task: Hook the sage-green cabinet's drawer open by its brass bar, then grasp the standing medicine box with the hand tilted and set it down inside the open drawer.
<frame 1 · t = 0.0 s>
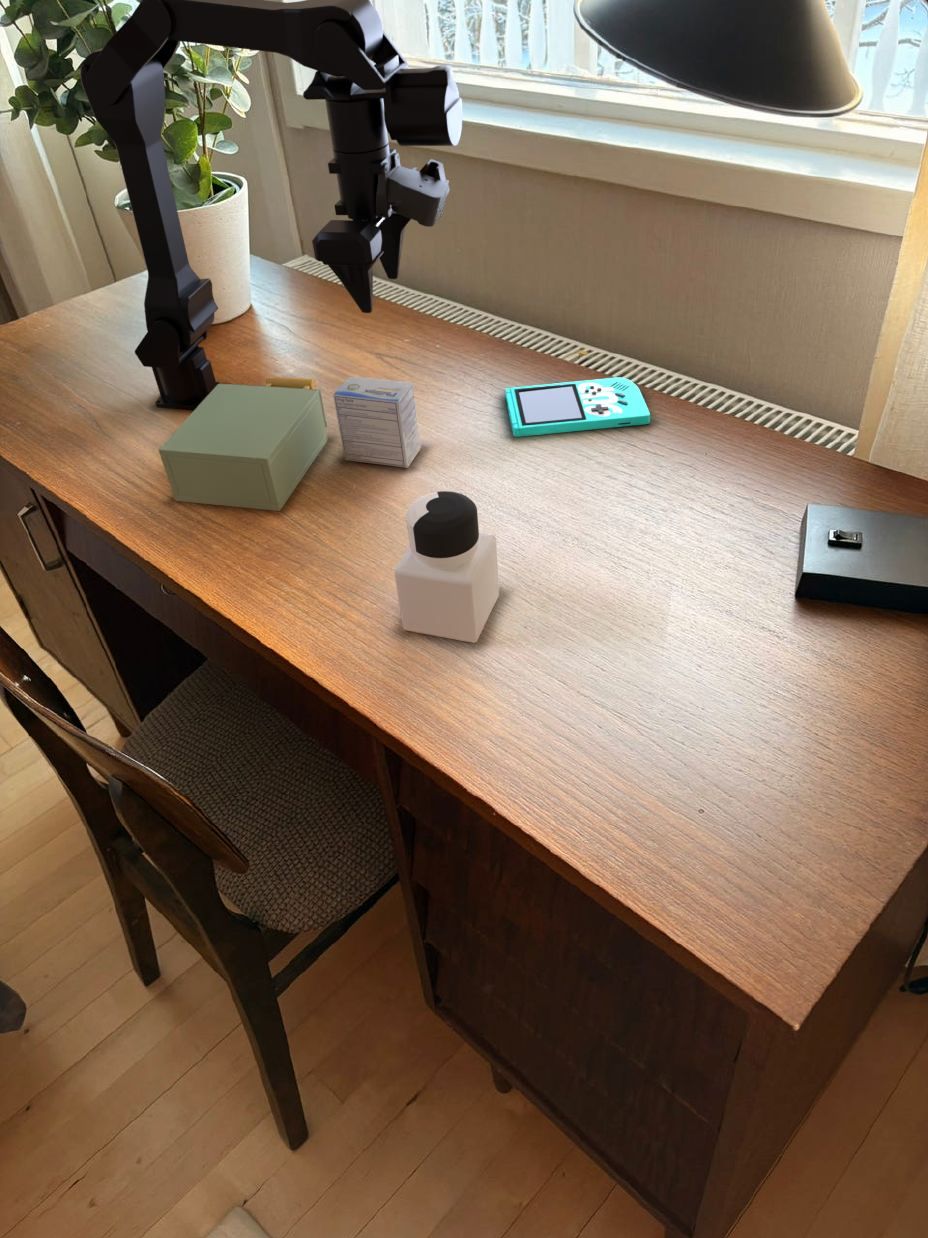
hand: (380, 294, 106), 15 cm above the table, tool pointing down, fingers open, 9 cm apart
drawer: (264, 423, 109), point 3 cm above the table, slide at 0.5 cm
handheld game console: (575, 411, 113), on the table
cabinet: (254, 469, 108), on the table
medicine box: (383, 457, 108), on the table
medicine bottle: (452, 614, 87), on the table
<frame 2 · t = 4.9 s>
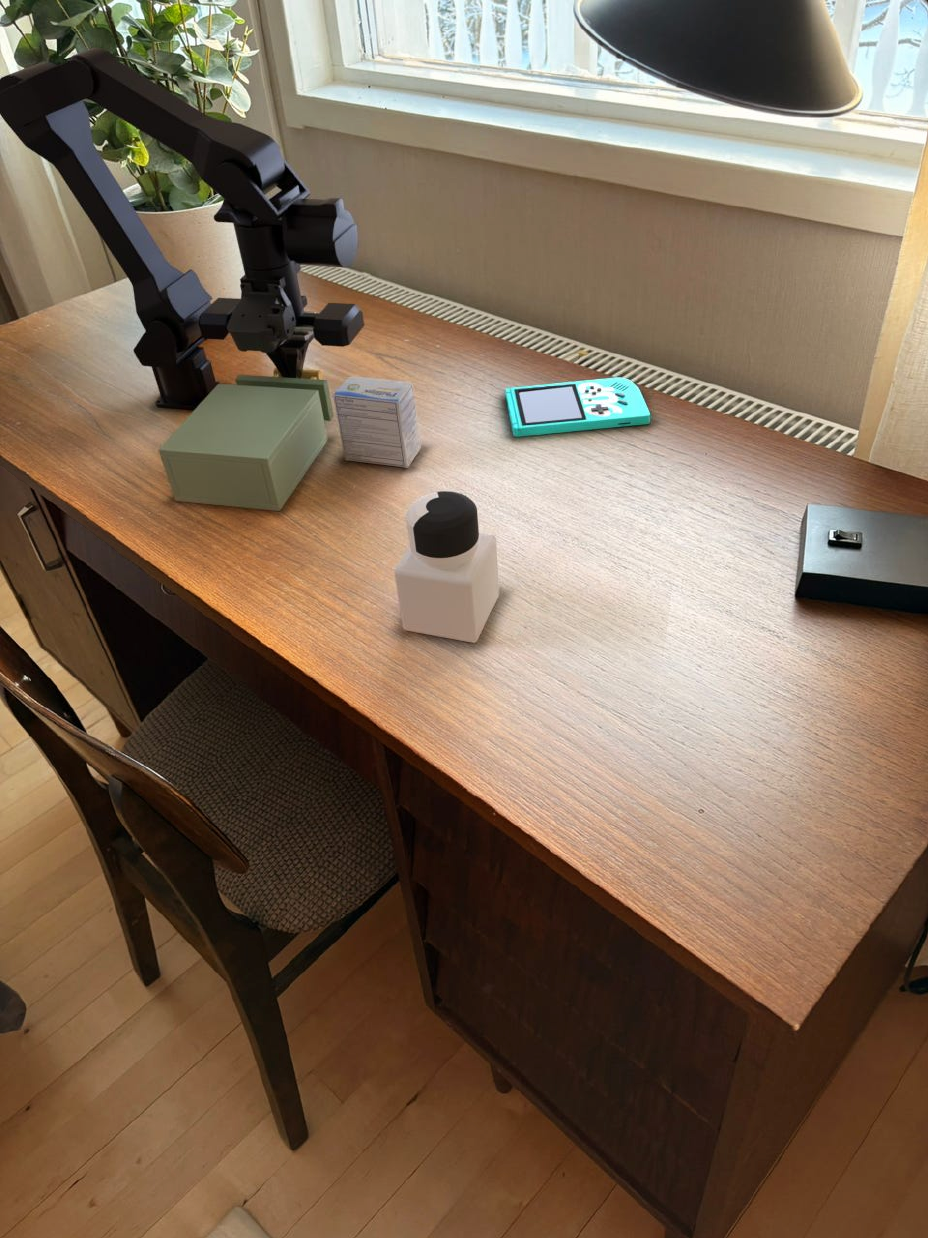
hand: (294, 387, 116), 3 cm above the table, tool pointing down, fingers closed
drawer: (272, 413, 111), point 3 cm above the table, slide at 2.8 cm, touching gripper
everything else where it was.
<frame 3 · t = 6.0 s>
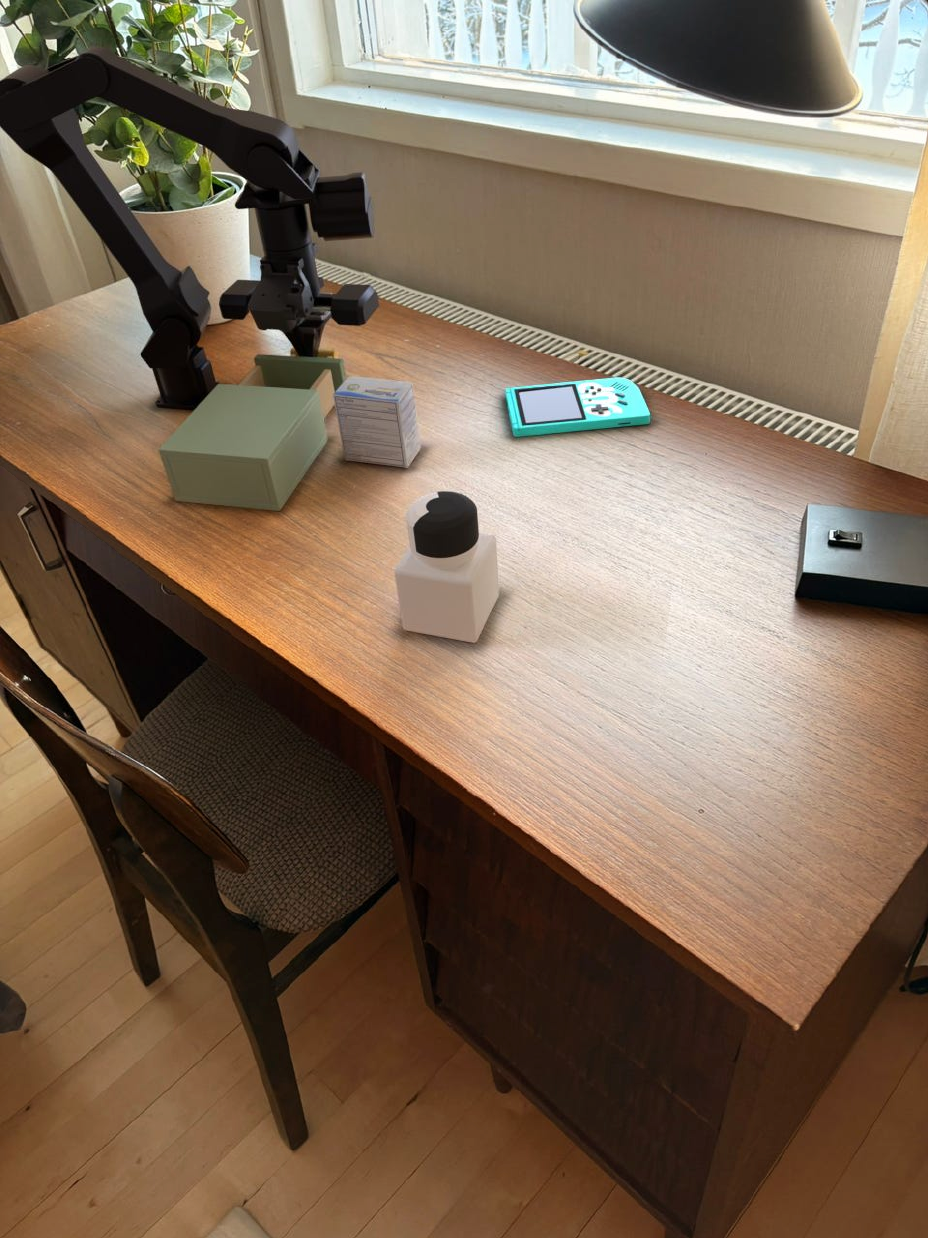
hand: (311, 367, 119), 3 cm above the table, tool pointing down, fingers closed, pressing on drawer
drawer: (289, 391, 114), point 3 cm above the table, slide at 8.3 cm, touching gripper
everything else where it was.
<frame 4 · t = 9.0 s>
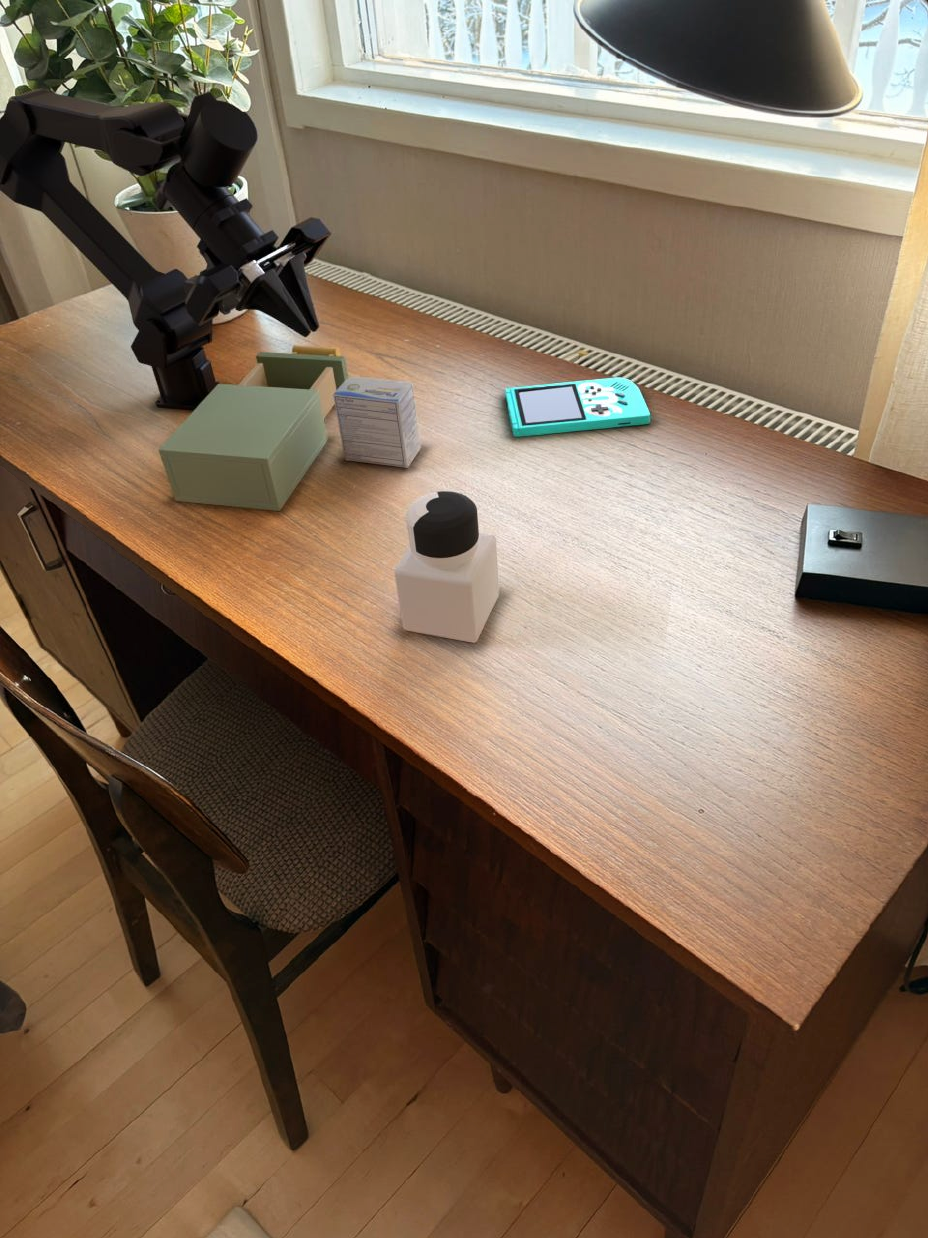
hand: (312, 332, 103), 13 cm above the table, tool tilted 45°, fingers closed
drawer: (291, 388, 115), point 3 cm above the table, slide at 8.9 cm
everything else where it was.
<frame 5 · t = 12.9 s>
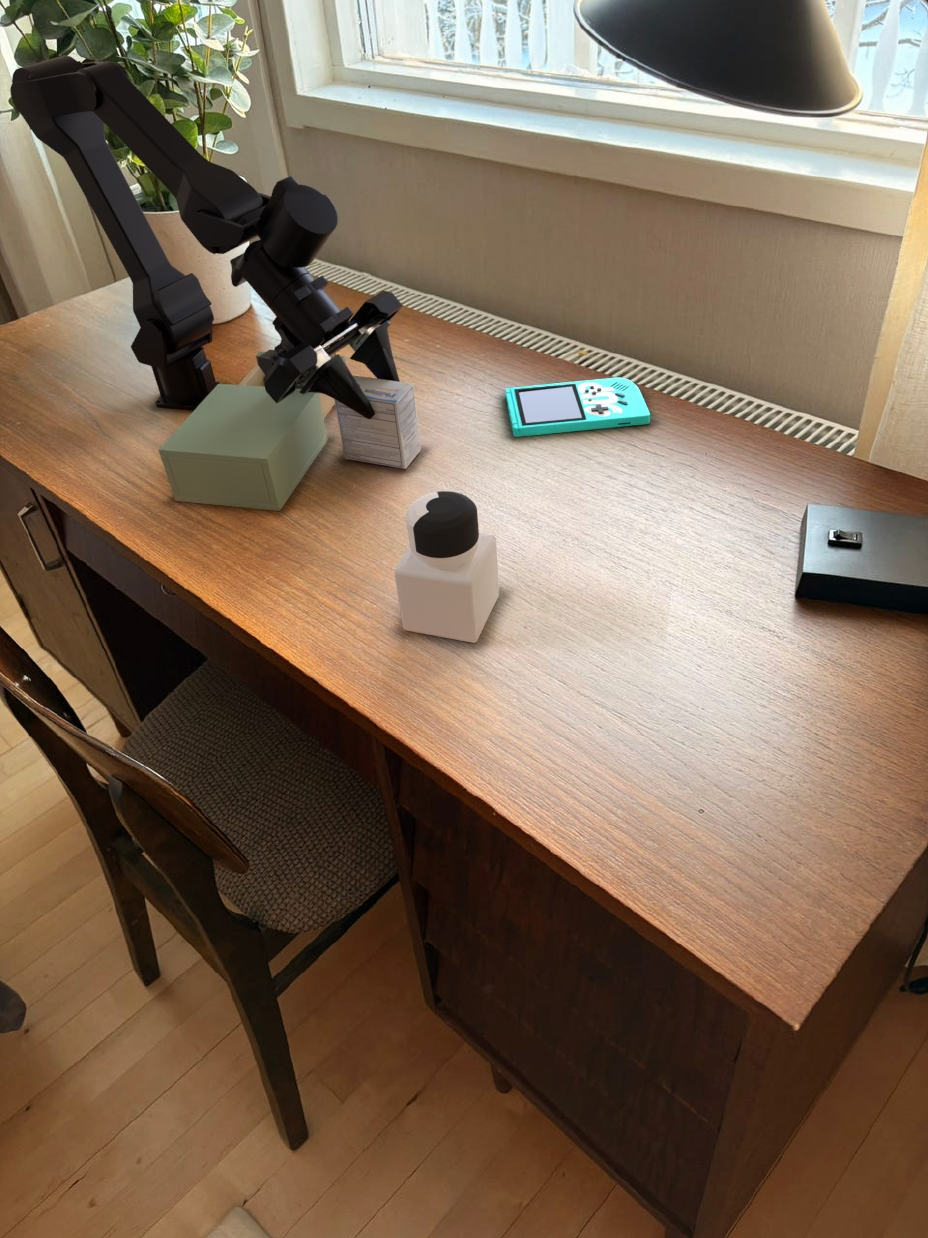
hand: (386, 406, 103), 7 cm above the table, tool tilted 45°, fingers closed on medicine box, 5 cm apart
medicine box: (383, 457, 108), on the table, touching gripper
everything else where it was.
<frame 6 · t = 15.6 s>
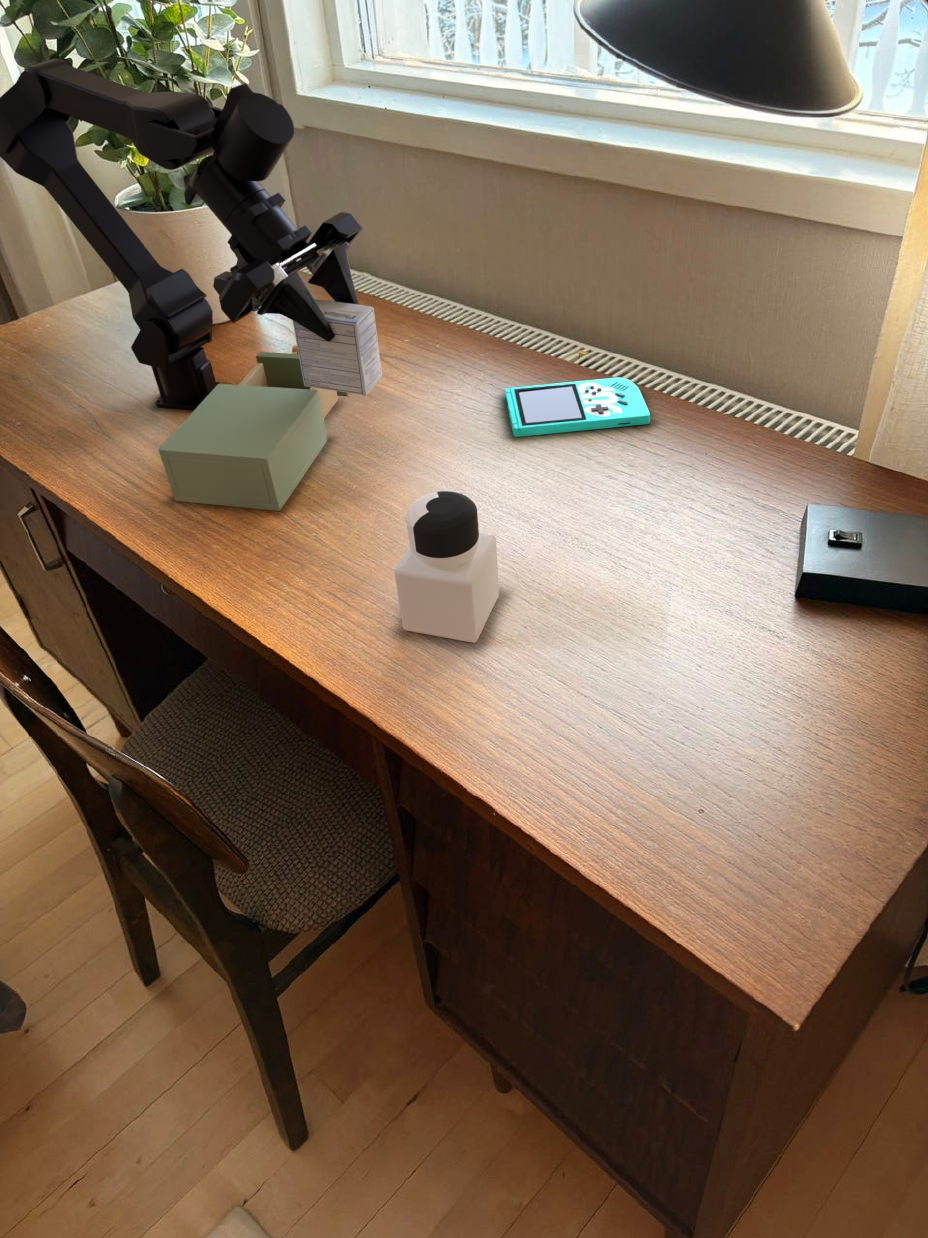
hand: (346, 329, 101), 14 cm above the table, tool tilted 45°, fingers closed on medicine box, 5 cm apart
medicine box: (343, 385, 106), point 7 cm above the table, touching gripper
everything else where it was.
when the fingers open (9 cm above the table, at t = 18.7 s): medicine box stays where it is, resting on drawer.
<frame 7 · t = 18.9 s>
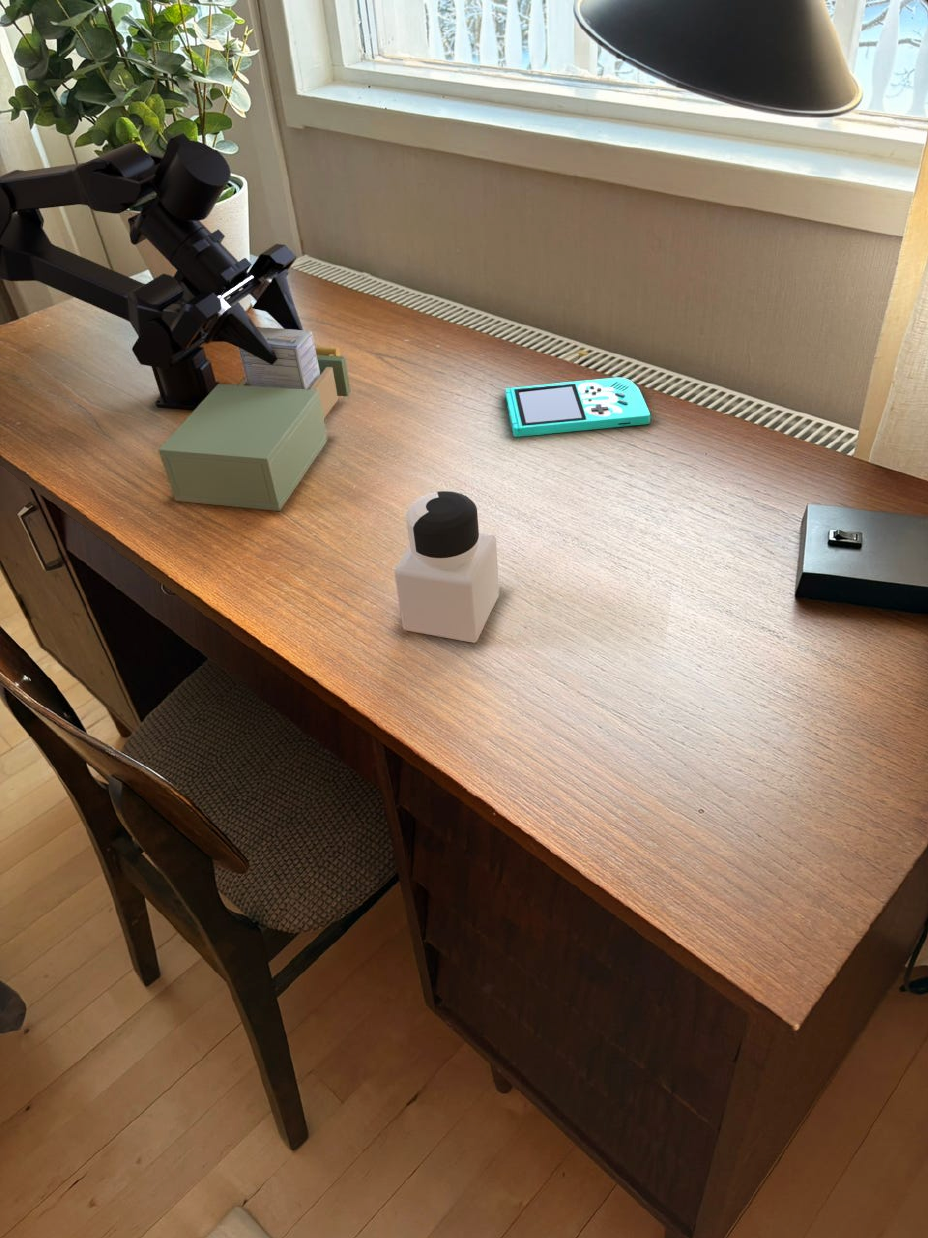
hand: (289, 350, 110), 9 cm above the table, tool tilted 45°, fingers open, 6 cm apart
drawer: (291, 388, 115), point 3 cm above the table, slide at 8.9 cm, touching medicine box
medicine box: (289, 404, 115), point 2 cm above the table, touching drawer
everything else where it was.
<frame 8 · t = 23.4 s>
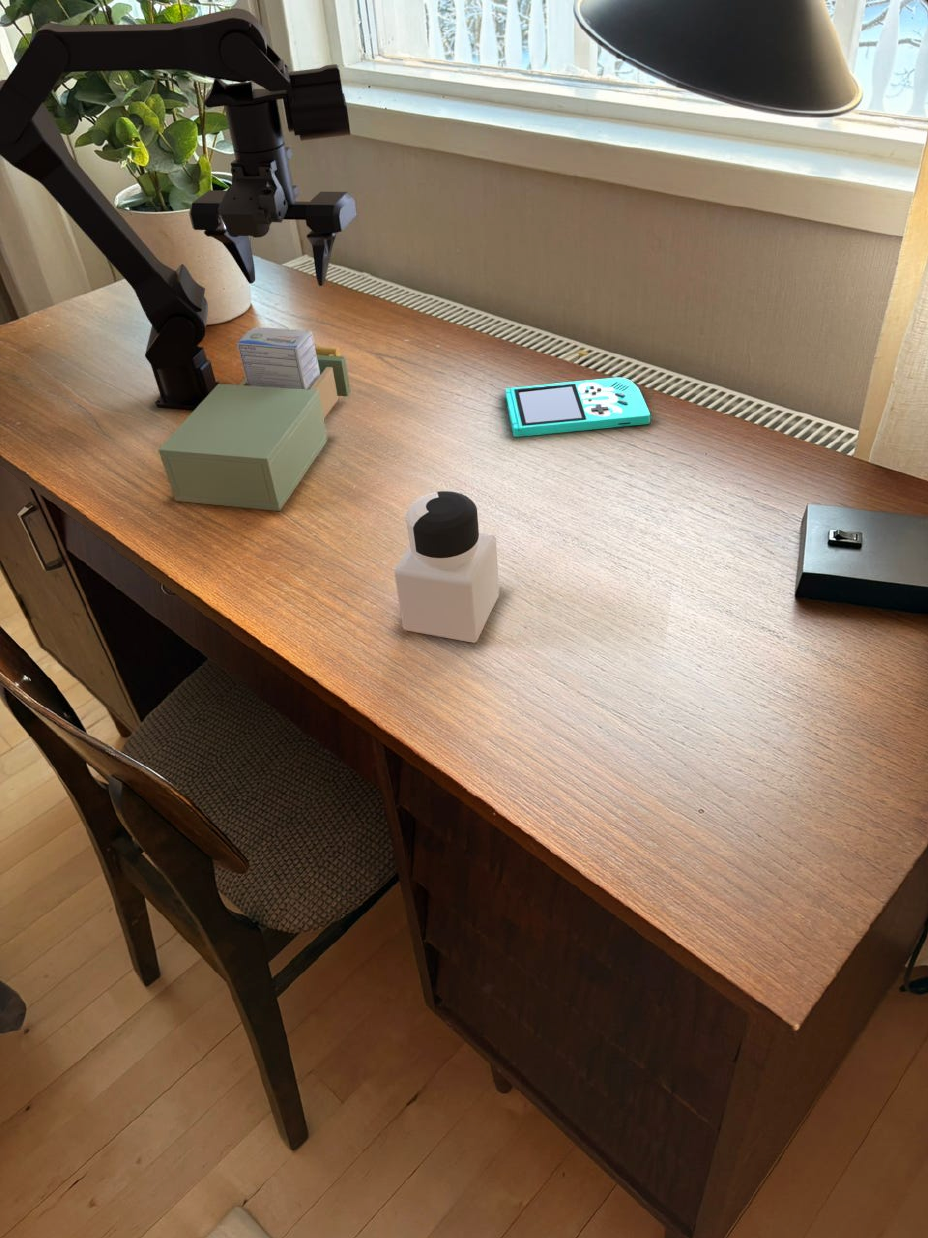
hand: (286, 283, 115), 13 cm above the table, tool pointing down, fingers open, 9 cm apart
nothing on the table moved.
at the end: drawer slide at 8.9 cm; medicine box inside the target area in the drawer (0.2 cm from its centre), point 1.8 cm above the cabinet's base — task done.
